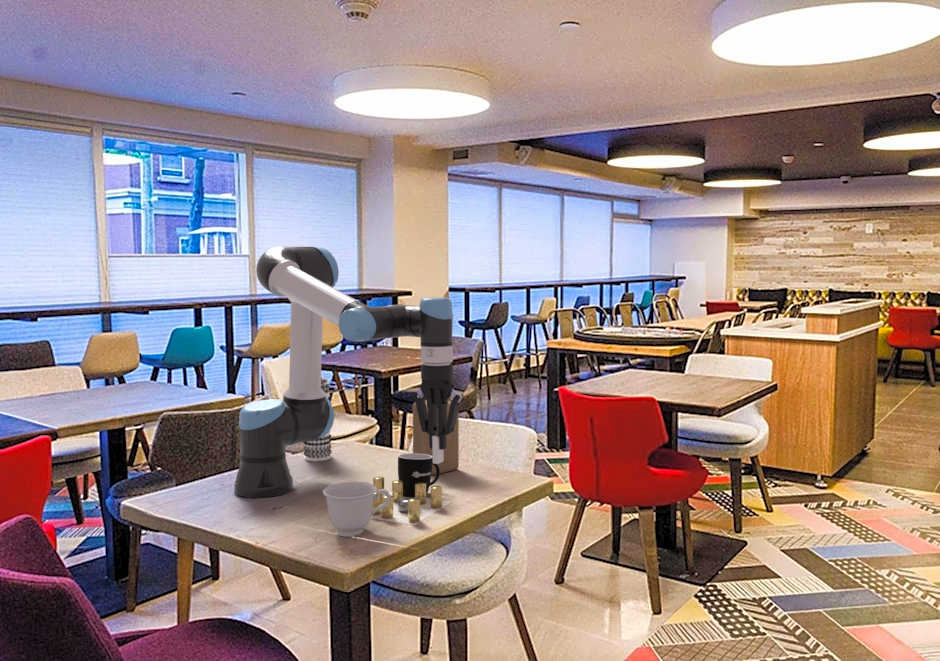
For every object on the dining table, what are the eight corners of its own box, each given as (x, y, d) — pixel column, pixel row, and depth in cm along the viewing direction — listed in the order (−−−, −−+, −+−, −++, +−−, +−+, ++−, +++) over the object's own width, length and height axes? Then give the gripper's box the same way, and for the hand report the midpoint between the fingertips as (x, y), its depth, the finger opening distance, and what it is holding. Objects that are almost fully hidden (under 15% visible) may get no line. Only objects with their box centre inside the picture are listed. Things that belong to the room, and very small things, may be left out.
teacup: (389, 541, 166) (389, 496, 165) (320, 543, 164) (319, 498, 163) (391, 522, 178) (390, 480, 177) (326, 524, 176) (325, 482, 175)
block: (437, 463, 229) (437, 397, 227) (460, 469, 222) (459, 402, 220) (411, 469, 223) (411, 401, 221) (433, 476, 215) (433, 406, 213)
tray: (331, 512, 184) (331, 510, 184) (374, 491, 201) (374, 489, 201) (414, 526, 174) (414, 525, 174) (451, 503, 191) (451, 501, 191)
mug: (407, 500, 190) (409, 460, 190) (390, 493, 198) (391, 454, 198) (447, 496, 197) (449, 457, 197) (428, 489, 205) (430, 451, 205)
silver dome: (394, 511, 184) (394, 501, 183) (404, 505, 188) (404, 496, 188) (412, 514, 182) (412, 504, 181) (422, 508, 186) (422, 498, 186)
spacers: (343, 512, 184) (343, 491, 183) (378, 494, 197) (378, 475, 197) (415, 524, 175) (415, 503, 175) (445, 505, 189) (445, 485, 188)
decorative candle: (336, 454, 240) (334, 375, 238) (328, 461, 231) (326, 380, 228) (308, 453, 241) (306, 375, 238) (298, 461, 232) (296, 380, 229)
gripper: (404, 364, 177) (406, 463, 179) (454, 366, 172) (455, 469, 174) (420, 360, 184) (421, 455, 186) (468, 362, 179) (469, 461, 181)
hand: (438, 462), depth 180 cm, fingers closed
